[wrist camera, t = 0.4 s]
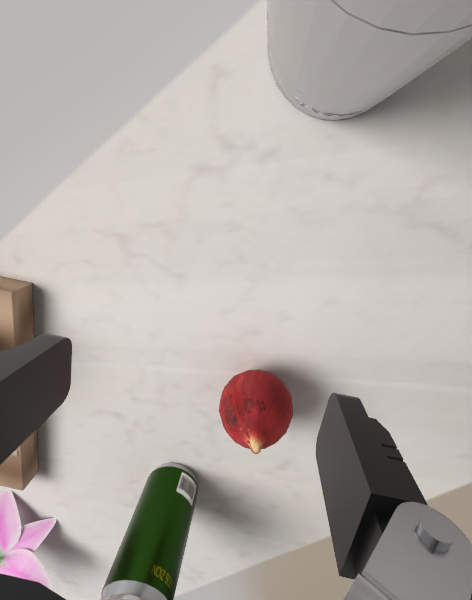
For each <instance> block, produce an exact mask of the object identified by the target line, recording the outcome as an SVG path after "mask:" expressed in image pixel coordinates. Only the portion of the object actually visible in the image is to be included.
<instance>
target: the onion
mask: <svg viewBox="0 0 472 600" xmlns="http://www.w3.org/2000/svg"><path fill="white" fill-rule="evenodd" d="M219 413H220V416H221V419H222V423H223V426H224V428H225V430H226V432H227V433H228V434H229V436H230V437H231V438H232V439H233V440H234V441H235V442H236V443H238V444H239V445H241V446H243V447H245V448H249V449H251V451H252V452H253V453H254V454H258V453H259V452H260V449H265V448H267V447H269V446H271V445H273V444H275V443H276V442H277V441H278V440H279V439H280V438H281V437H282V436H283V435H284V434H285V433H286V432H287V429H288V427H289V424H290V422H291V419H292V416H293V407H292V398H291V395H290V393H289V391H288V390H287V388H286V387H285V385H284V384H283V382H282V381H281V380H279V379H278V378H277V377H275V376H274V375H272V374H271V373H268V372H265V371H262V370H248V371H245V372H243V373H240V374H238V375H236V376H234V377H233V378H232V379H231V380H230V381H229V382H228V384H227V385H226V386H225V387H224V389H223V392H222V395H221V400H220V406H219Z"/></svg>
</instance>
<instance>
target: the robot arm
mask: <svg viewBox="0 0 472 600" xmlns="http://www.w3.org/2000/svg"><path fill="white" fill-rule="evenodd" d="M267 4H268V12H267V21H268V54H269V60H270V66H271V70H272V73H273V75H274V78H275V80H276V83H277V85H278V87H279V88H280V90H281V91H282V93H283V94H284V96H285V97H286V98H287V99H288V100H289V101H290V102H291V103H292V104H293V105H294V106H295V107H296V108H297V109H299V110H301V111H302V112H304V113H306V114H307V115H310V116H313V117H316V118H319V119H326V120H340V119H347V118H352V117H354V116H357V115H359V114H362V113H364V112H366V111H368V110H369V109H371V108H372V107H374V106H376V105H377V104H379V103H380V102H382V101H383V100H384V99H386V98H387V97H389V96H390V95H392V94H393V93H395V92H396V91H398V90H399V89H400V88H402V87H403V86H405V85H406V84H408V83H409V82H410V81H412V80H413V79H415V78H416V77H418V76H419V75H420V74H422V73H423V72H425V71H426V70H427V69H429V68H430V67H432V66H433V65H435V64H436V63H437V62H439V61H440V60H442V59H443V58H445V57H446V56H447V55H449V54H450V53H452V52H453V51H454V50H456V49H457V48H459V47H460V46H462V45H463V44H464V43H466V42H467V41H469V40H470V39H471V38H472V0H267ZM71 357H72V343H71V340H70V339H69V338H65V337H61V336H56V335H51V334H46V333H42V334H40V335H38V336H36V337H35V338H33V339H31V340H29V341H28V342H26V343H24V344H23V345H19V346H16V347H13V348H9V349H6V350H3V351H0V465H1V464H2V463H3V462H4V461H5V460H6V459H7V458H8V457H9V456H10V455H11V454H12V453H13V452H14V451H15V450H16V449H17V448H18V447H19V446H20V445H21V444H22V443H23V442H24V441H25V440H26V439H27V438H28V437H29V436H30V435H31V434H32V433H33V432H34V431H35V430H36V429H37V428H38V427H39V426H40V425H41V424H42V423H43V422H44V421H45V420H46V419H47V418H48V417H49V416H50V415H51V414H52V413H53V412H54V411H55V410H56V409H57V408H58V407H59V406H60V405H61V404H62V403H63V402H64V400H65V399H66V397H67V395H68V392H69V389H70V384H71ZM316 459H317V464H318V470H319V475H320V480H321V485H322V490H323V495H324V500H325V505H326V511H327V516H328V521H329V526H330V531H331V536H332V541H333V546H334V552H335V557H336V561H337V567H338V572H339V575H340V576H342V577H346V578H351V579H355V581H354V582H353V584H352V586H351V588H350V589H349V591H348V593H347V595H346V597H345V599H344V600H472V544H471V542H470V540H469V539H468V538H467V537H466V535H465V534H464V533H463V531H462V530H460V528H459V527H458V526H457V525H456V524H455V523H454V522H452V521H451V520H450V519H449V518H448V517H446V516H445V515H443V514H442V513H440V512H439V511H437V510H435V509H433V508H431V507H429V506H428V505H427V503H426V501H425V499H424V497H423V495H422V493H421V491H420V490H419V488H418V486H417V484H416V482H415V480H414V478H413V476H412V474H411V473H410V471H409V469H408V467H407V465H406V463H405V462H403V458H402V456H401V454H400V452H399V450H397V446H396V444H395V442H394V441H393V439H392V437H391V435H390V433H389V432H388V431H387V430H386V429H385V428H384V427H383V426H382V425H381V424H380V423H379V422H378V421H377V420H376V419H373V418H369V417H368V415H367V413H366V411H365V409H364V407H363V405H362V402H361V400H360V399H359V398H356V397H351V396H346V395H342V394H337V393H332V394H331V396H330V398H329V400H328V404H327V407H326V410H325V414H324V417H323V420H322V423H321V427H320V430H319V433H318V437H317V443H316ZM0 600H66V599H64V598H62V597H61V596H59V595H58V594H56V593H55V592H53V591H52V590H50V589H49V588H47V587H46V586H44V585H43V584H41V583H39V582H36V581H31V580H27V579H23V578H18V577H14V576H9V575H5V574H1V573H0Z"/></svg>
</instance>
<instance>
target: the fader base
mask: <svg viewBox="0 0 472 600" xmlns="http://www.w3.org/2000/svg"><path fill="white" fill-rule="evenodd" d="M33 338H34V318H33V288H32V283H29V282H24V281H19V280H15V279H10V278H5V277H0V351H3V350H6V349H9V348H13V347H16V346H19V345H23V344H24V343H26V342H28V341H29V340H31V339H33ZM38 471H39V465H38V436H37V429H36V430H35V431H34V432H33V433H32V434H31V435H30V436H29V437H28V438H27V439H26V440H25V441H24V442H23V443H22V444H21V445H20V446H19V447H18V448H17V449H16V450H15V451H14V452H13V453H12V454H11V455H10V456H9V457H8V458H7V459H6V460H5V461H4V462H3V463H2V464H1V465H0V486H5V487H9V488H14V489H18V490H22V491H23V490H24V489H25V487H26V486H27V485H28V484H29V482H30V481H31V480H32V479H33V477H34V476H35V475H36V474H37V472H38Z"/></svg>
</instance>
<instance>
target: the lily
mask: <svg viewBox="0 0 472 600" xmlns="http://www.w3.org/2000/svg"><path fill="white" fill-rule="evenodd" d="M56 520H57V519H55V518H48V519H44V520H40V521H36V522H33V523H29V524H27V525H24V526H21V521H20V516H19V512H18V509H17V505H16V502H15V499H14V496H13V493H12V491H11V490H10V489H7V488H5V489H4V490H3V491H2V492H1V493H0V573H1V574H5V575H9V576H14V577H18V578H23V579H27V580H31V581H36V582H39V583H41V584H43V585H44V586H46V587H47V588H49V589H50V590H52V591H53V592H54V585H53V582H52V580H51V578H50V577H49V575H48V573H47V572H46V570H45V568H44V567H43V565H42V564H41V562H40V561H39V559H38V558H37V557H36V556H35V555H34V553H33V552H34V551H35V550H36V549H37V548H38V546H39V545H40V544H41V543H42V541H43V540H44V539H45V538H46V536H47V535H48V534H49V532H50V531H51V529H52V528H53V526H54V525H55V523H56Z"/></svg>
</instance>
